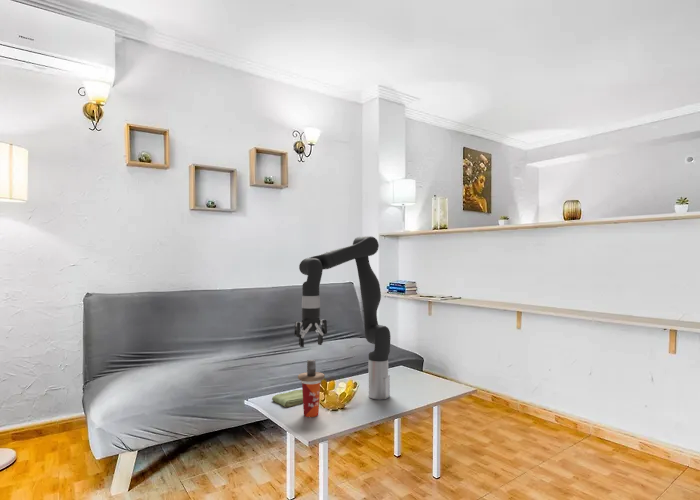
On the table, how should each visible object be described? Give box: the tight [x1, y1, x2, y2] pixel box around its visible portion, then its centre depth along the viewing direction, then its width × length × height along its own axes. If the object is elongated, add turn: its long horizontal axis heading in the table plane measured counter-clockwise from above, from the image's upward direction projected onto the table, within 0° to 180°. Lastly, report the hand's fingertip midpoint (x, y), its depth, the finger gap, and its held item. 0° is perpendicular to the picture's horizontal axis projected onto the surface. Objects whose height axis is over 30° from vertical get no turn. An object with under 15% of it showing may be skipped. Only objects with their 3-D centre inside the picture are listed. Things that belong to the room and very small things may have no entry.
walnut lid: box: [297, 359, 326, 382], centre depth 172 cm, size 11×11×7 cm
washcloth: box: [271, 389, 303, 408], centre depth 190 cm, size 13×18×3 cm
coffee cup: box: [300, 380, 322, 418], centre depth 172 cm, size 8×8×15 cm
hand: (311, 345), depth 173 cm, fingers open, 8 cm apart
